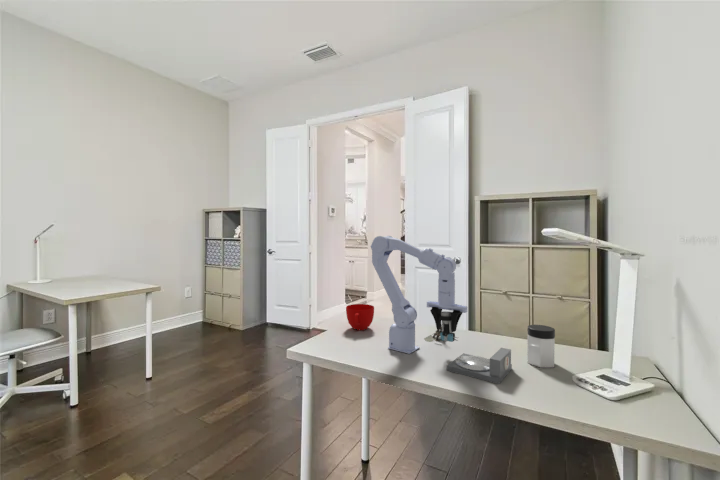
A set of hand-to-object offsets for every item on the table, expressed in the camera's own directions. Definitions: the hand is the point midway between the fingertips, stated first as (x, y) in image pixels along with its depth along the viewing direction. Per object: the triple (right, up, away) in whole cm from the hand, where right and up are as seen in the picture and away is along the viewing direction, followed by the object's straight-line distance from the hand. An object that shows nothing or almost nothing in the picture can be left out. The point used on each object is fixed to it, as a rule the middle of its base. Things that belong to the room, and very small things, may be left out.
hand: (446, 329), depth 120 cm
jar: (+30, -10, -7) cm, 32 cm away
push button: (+1, -4, -1) cm, 4 cm away
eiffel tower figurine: (+2, -10, +20) cm, 22 cm away
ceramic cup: (-31, -9, +33) cm, 46 cm away
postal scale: (+8, -10, -12) cm, 17 cm away
